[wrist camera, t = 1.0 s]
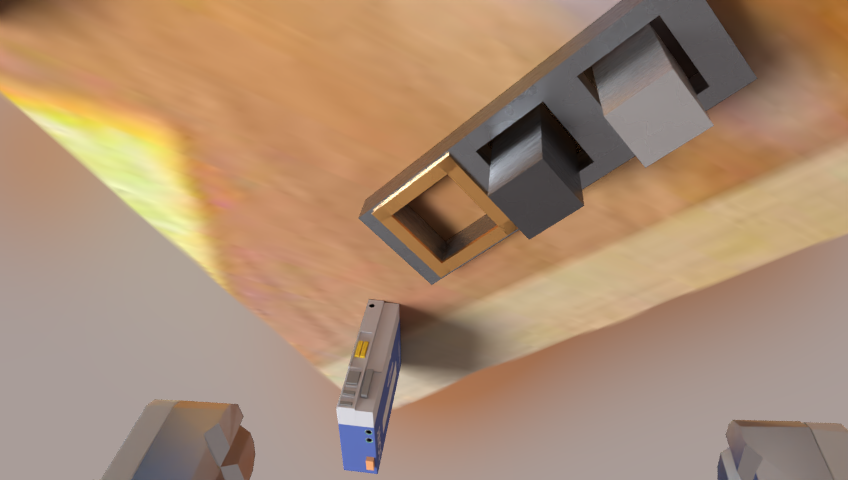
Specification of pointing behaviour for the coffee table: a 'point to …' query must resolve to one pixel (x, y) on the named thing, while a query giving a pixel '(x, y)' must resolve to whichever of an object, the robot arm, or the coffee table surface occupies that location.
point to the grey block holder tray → (572, 106)
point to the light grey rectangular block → (648, 97)
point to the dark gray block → (535, 172)
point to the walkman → (370, 388)
